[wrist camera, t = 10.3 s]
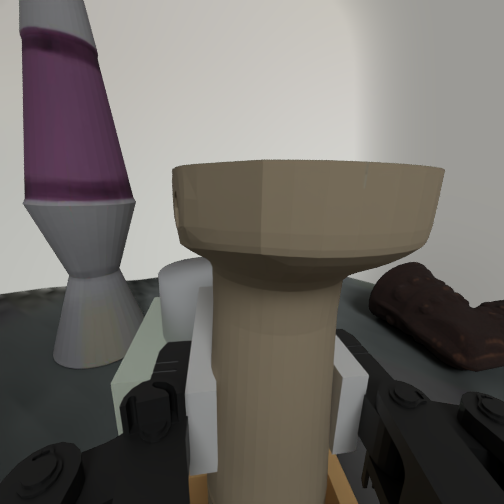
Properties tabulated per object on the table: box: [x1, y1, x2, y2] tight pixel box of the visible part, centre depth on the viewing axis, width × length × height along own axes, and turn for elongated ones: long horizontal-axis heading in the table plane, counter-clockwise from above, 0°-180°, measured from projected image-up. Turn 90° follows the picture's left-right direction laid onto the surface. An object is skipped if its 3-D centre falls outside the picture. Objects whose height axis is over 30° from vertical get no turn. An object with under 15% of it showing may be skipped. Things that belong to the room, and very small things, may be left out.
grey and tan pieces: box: [111, 257, 358, 504], centre depth 16 cm, size 16×26×13 cm, turn 9°
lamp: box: [19, 0, 144, 369], centre depth 27 cm, size 11×11×40 cm
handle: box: [172, 160, 445, 504], centre depth 8 cm, size 5×6×15 cm
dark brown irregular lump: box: [369, 262, 504, 372], centre depth 33 cm, size 10×15×15 cm
